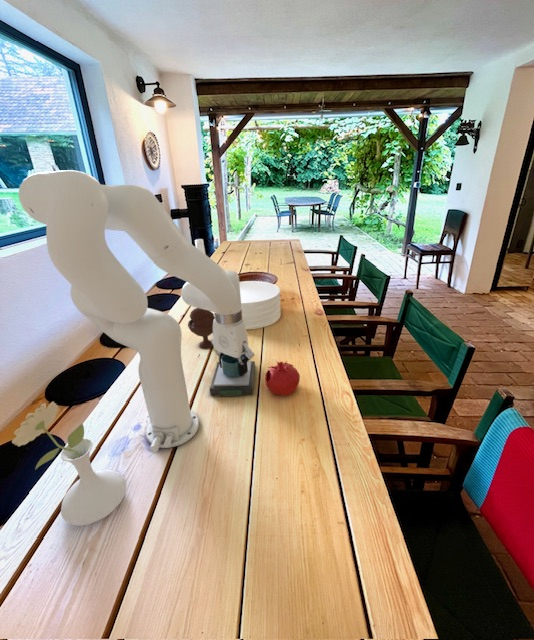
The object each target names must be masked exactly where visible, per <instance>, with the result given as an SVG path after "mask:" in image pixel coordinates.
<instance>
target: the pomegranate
mask: <svg viewBox="0 0 534 640" xmlns="http://www.w3.org/2000/svg"><path fill="white" fill-rule="evenodd" d="M275 361H276V365H271V366H269V367H267V369H268V370H266V372H265V375H264V383H265V385H266V387H267V389H268V391H269V392H270V393H272V394H274V395H276V396H284V397H286V396H287V397H288V396H290V395H291V394H292V393H294V392H295V391H296V390H297V388H298V386H299V384H300V377H301V376H300V373H299V371H298V369H296V367H295V366H294V365H293V364H292V363H291V364H290V363H288V361H287V360H285V362H284V361H277V360H275Z"/></svg>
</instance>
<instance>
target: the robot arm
mask: <svg viewBox="0 0 534 640" xmlns="http://www.w3.org/2000/svg"><path fill="white" fill-rule="evenodd" d="M18 199H19V203H20V205H21V207H22V209H23V210H24V211H25V213H26V214H27V215H28V216H29V217H30V218H32V219H33V220H34V221H36V222H38V223H40V224H42V225H43V224H44V225H46V227H45V228H46V229H45V230H46V232H45V235H46V236H45V237H46V246H47V247H46V248H47V251H48V255H49V258H50V261H51V262H52V264H53V267H55V269H56V270H57V271H58V272H59V273H60V275H62V277H63V278H64V279H65V280H66V281H67V282H68V283H69V284H71V285H70V292H69V293H70V298H71V301H72V303H73V305H74V306H75V308H76V309H77V310H78V312H80V313H81V314H82V315H83V316H84V317H85V318H86V319H88V320H89V321H90V322H91V323H92V324H94V325H95V326H96V327H97V328H98V329H99V330H100V331H101V332H103V333H104V334H105V335H106V336H108V337H109V338H110V339H111V340H113V341H115V342H116V343H118V344H120V345H123V346H125V347H128V348H129V349H131V350H133V351H136V352H137V353H138V355H139V363H138V367H137V368H138V369H137V370H138V378H139V381H140V386H141V389H142V393H143V397H144V402H145V407H146V410H147V414H148V419H149V423H148V425H147V426H146V430H145V435H146V440H147V441H148V442H149V443H150V446H149V452H151V453H153V454H155V453H158V452H159V449H160V448H161V449H169V448H175V447H178V446H181V445H183V444H185V443H187V442H188V441H190V440H191V439H192V438H193V437H194V436H195V435H196V433H197V432H198V430H199V427H200V422H199V418H198V415H197V414H196V413H195V412H194V411H193V410H191V407H190V401H189V395H188V389H187V383H186V377H185V373H184V367H183V360H182V359H183V358H182V339H183V338H182V336H183V335H182V329H181V325H180V323H179V322H178V321H177V319H176V318H175V317H173V316H172V315H170V314H168V313H167V312H163V311H161V310H158V309H154V308H150V307H148V305H149V303H148V302H149V301H148V297H147V294H146V292H145V290H144V288H143V287H142V286H141V285H140V283H138V281H137V280H136V279H135V278H134V277H133V276H132V274H131V273H130V272H129V271H128V270H127V268H126V267H124V265H123V264H122V263H121V262H120V261H119V260H118V259H117V257H116V256H115V255H114V253H113V252H112V251H111V249H110V248H109V246H108V244H107V240H106V233H105V231H106V230H110V231H119V232H124V233H126V234H127V235H128V236H129V237H130V238H131V240H132V241H133V242H135V244H136V245H137V246H138V247H139V248H140V249H141V250H142V251H143V253H145V255H147V257H148V258H149V259H150V261H152V262H153V264H154V265H155V266H156V267H157V268H158V269H160V270H162V271H163V272H165V273H167V274H169V275H171V276H172V277H174V278H177V279H180V280H181V281H184V282H185V283H184V284H183V286H182V288H181V292H180V294H181V298H182V300H183V302H184V303H185V304H187V305H188V306H190V307H193V308H195V309H196V308H200V309H204V310H208V311H210V312H212V313H213V314H214V317H215V319H214V321H213V333H212V339H210V341H211V342H212V344H213V346H212V347H213V348H214V350H215V351H216V355H217V357H218V362H220V368H222V364H221V357H222V356H223V355H224V354H226V355H229V356H231V357H234V358H237V359H238V361H239V363H240V364H239V365H238V368H239V376H243V375H244V374H245V373H247V372H248V367H247V362H248V361H251V359H252V358H253V357H254V356H255V352H254V351H253V350H252V349H251V348H250V347H249V339H248V332H247V330H246V328H245V324H244V321H243V320H242V308H241V295H240V283H239V282H240V275H239V274H238V273H237V272H236V271H234V270H231V269H230V270H228V269H227V270H224V269H223V268H222V267H221V265H219V264H218V263H217V262H216V261H215V260H213V259H212V258H211V257H210V256H208V255H207V254H206V253H205V254H206V255H205V254H204V253H203V252H201V251H200V250H199V249H197V248H196V245H193V244H192V243H191V242H190V241H189V240H188V239H187V238H186V237H185V235H184V233H182V231H181V230H180V228H179V226H177V224H176V223H175V221H174V220H173V218H172V217H171V216H170V214H169V213H168V212H167V210H166V209H165V207H164V206H163V205H162V204H161V202H160V200H159V199H158V198H157V197H156V195H155V194H154V193H153V192H152V191H150V190H149V188H147V187H144V186H143V185H137V184H111V185H109V184H101V183H100V182H99V181H98V180H97V179H96V178H95V177H94V176H92V175H91V174H88V173H87V172H83V171H79V170H72V169H67V170H65V169H64V170H55V171H42V172H35V173H33V174H31V175H29V176H27V177H26V178H24V179H23V181H22V182H21V184H20V185H19V189H18ZM241 355H243V357H244V359H243V360H242V358H241Z"/></svg>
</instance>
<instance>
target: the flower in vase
mask: <svg viewBox="0 0 534 640" xmlns="http://www.w3.org/2000/svg"><path fill="white" fill-rule="evenodd" d="M59 411H60V408H59V405H58V404H57V403H55V400H54V401H51V402H50V403H49V404H48V405H47V404H46V402H44V403H42V404H41V405H40V407H37V408H36V409H35V410H34V413H33V412H29V413H28V414H27V415H26V416H25V420H24V421H22V422H21V423H20V426H19V428H17V429H16V430H14V431H13V435H15V438H13V439H12V441H11V443H12V444H13V445H14V446H17V447H21V446H25V445H27V444H28V443H30V442H32V441H34V440H35V439H36V438H37V437H39V436H40V435H41V434H42V433H43V432H45V433H46V435H47V436H48V437H49V438H50V439H51V441H52V442H53V444H54V445H56V446H57V447H56V448H54V449H52V450H50V451H49V452H47V453H46V454H44V455H43V456H42V457H41V458H40V459H39V461H38V462H37V464H36V466H35V469H34V470H35V471H36V470H37V469H38V468H40V467H41V466H42V465H44V464H46V463H48V462H49V461H51V460H53V459H54V458H55V456H56V455H57V454H58V452H59V451H60V449H62V451H61V453H60V458H61V460H63V461H64V462H68V463H70V464H72V465H73V467H74V468H75V470H76V471H77V474H78V477H79V479H77V480H76V481H75V482H74V483H73V484H72V485H71V486H70V488H69V489H68V491H66V493H65V494H64V496H63V499H62V501H61V507H60V514H61V518H62V519H63V520H64V522H66V523H67V524H69V525H73V526H87V525H92V524H94V523H97V522H99V521H101V520H103V519H105V518H106V517H107V516H109V515H111V513H112V512H114V511H115V509H116V508H117V507H118V506H119V505H120V503H121V502H122V500H123V499H124V496H125V494H126V491H127V480H126V478H125V477H124V476H123V475H122V473H120V472H119V471H117V470H114V469H98V470H93V468H92V464H91V460H90V453H91V451H92V448H93V446H94V443H93V441H92V440H91V439H88V438H85V428H84V424H83V423H81V424H79V425H78V426H77V427H76V428H75V429H74V430H73V431H72V432H70V434H68V436H67V445H66V446H62V445H60V444H59V443H58V442H57V440H56V439H55V438H54V437H53V435H52V434H51V432H49V431H48V429H47V428H48V427H49V425H51V424H52V423H53V422H54V421H55V418H56V417H57V415H58V413H59Z"/></svg>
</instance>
